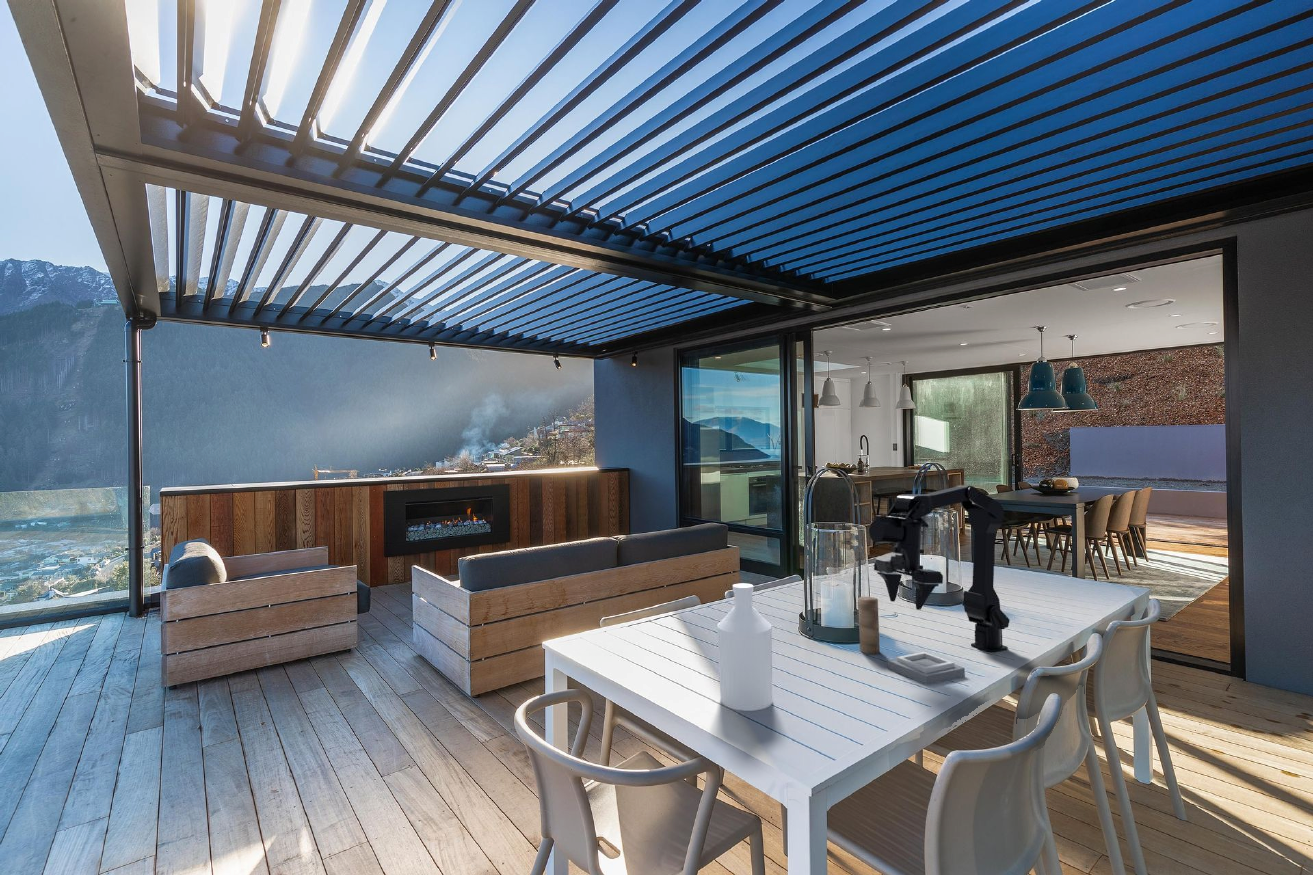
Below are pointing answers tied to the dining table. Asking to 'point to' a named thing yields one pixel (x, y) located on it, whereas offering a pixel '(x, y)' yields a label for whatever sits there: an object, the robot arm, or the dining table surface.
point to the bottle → (745, 655)
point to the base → (926, 668)
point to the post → (869, 625)
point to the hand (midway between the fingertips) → (905, 605)
